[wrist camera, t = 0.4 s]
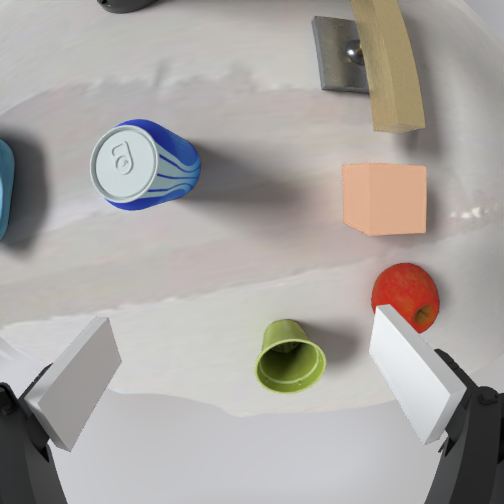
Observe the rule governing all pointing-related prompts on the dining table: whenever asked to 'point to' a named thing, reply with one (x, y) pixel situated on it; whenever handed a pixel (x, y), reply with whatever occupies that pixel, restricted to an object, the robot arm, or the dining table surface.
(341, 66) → the grey square base plate
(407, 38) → the yellow t-shaped bar
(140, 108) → the dining table surface
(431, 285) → the apple
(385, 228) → the peach tan cube
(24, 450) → the robot arm
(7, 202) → the casserole dish
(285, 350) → the plant pot
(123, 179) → the beer can
